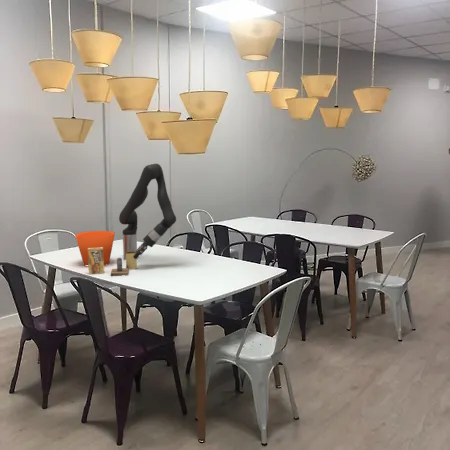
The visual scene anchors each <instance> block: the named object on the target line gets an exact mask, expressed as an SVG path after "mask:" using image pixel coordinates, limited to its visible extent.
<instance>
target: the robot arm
mask: <svg viewBox="0 0 450 450" xmlns="http://www.w3.org/2000/svg"><path fill="white" fill-rule="evenodd" d="M153 180H155V181H156V184H157V194H156V195H157V196H156V197H157V202H158V205H159V207H160V210H161V213H162V216H163V219H162V220H161V221H160V222H159V223H157V224H156V226H155V227H154V228H153V229H152V230H150V231H149V232H148V233H147V234H146V235H145V236H144V238H143V239H142V240H143V243H141V244H140V245H139V246H138V243H137V242H138V241H137V239H138V238H137V236H138V235H137V232H138V214H137V212H136V210H137V209H138V208H140V207H141V206H142V205H143V204H144V203H145V201H146V199H147V198H148V196H149V189H148V186H149V185H150V183H151V181H153ZM118 221H119V223H120V224H121V225H127V227H126V228H124V229H123V230H122V245H123V246H122V250H123V251H122V253H123V255H122V256H123V260H124V261H126V252H131V251H136V254H135V255H134V256H133V258H135V259H137V260H138V258H139V257H140V256H142V255H143V253H144V252H145V251H147V249H148V247H149V248H152V247H154V246H155V245H156V243H157V242H158V241H159V240H160V239H161V238H162V236H163V235H165V233H166V232H167V231H168V230H169V229H170V228H171V227H172V226H173V225H174V224H175V223H176V221H177V217H176V214H175V213H174V210H173V206H172V203H171V200H170V198H169V195H168V191H167V185H166V181H165V175H164V171H163V168H162V166H161V165H160V164H159V163H153V164H147V165H145V166H144V167H143V169H142V172H141V175H140V177H139V180H138V181H137V184H136V185H135V188H134V189H133V191H132V193H131V195H130V197H129V199H128V201H127V203H126V204H125V206H124V207H123V208H122V210H121V212H119V217H118Z"/></svg>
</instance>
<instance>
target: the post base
mask: <svg viewBox="0 0 450 450" xmlns="http://www.w3.org/2000/svg"><path fill="white" fill-rule="evenodd" d="M129 270H130V269H129V268H125V267H124V268H123V260H122V258H121V257H118V258H116V268H112V269H111V271H110V276H111V277H119V276H120V277H122V275H125V276H129Z"/></svg>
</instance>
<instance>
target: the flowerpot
mask: <svg viewBox="0 0 450 450" xmlns="http://www.w3.org/2000/svg"><path fill="white" fill-rule="evenodd" d="M115 235H116V233H115V232H114V231H110V230H92V231H91V230H90V231H83V232H78V233H75V234H74V236H75V239H76V243H77V246H78V249H79V252H80V256H81V260H82V264H83V263H84V264H85V265H88V248H100V247H103V260H104V266H107V265H109V264H110V261H111V256H112V255H111V254H112V252H113V251H112V250H113V245H114V240H115ZM108 263H109V264H108ZM84 264H83V265H84ZM106 264H107V265H106ZM85 265H84V266H85Z"/></svg>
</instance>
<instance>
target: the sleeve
mask: <svg viewBox="0 0 450 450" xmlns="http://www.w3.org/2000/svg"><path fill="white" fill-rule="evenodd" d="M135 254H136V251H131V252H126V260H125V267H126V268H129V270H137V269H138V265H137V264H138V262H137V260H138V258H137V259H135V258H133V256H134V255H135Z"/></svg>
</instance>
